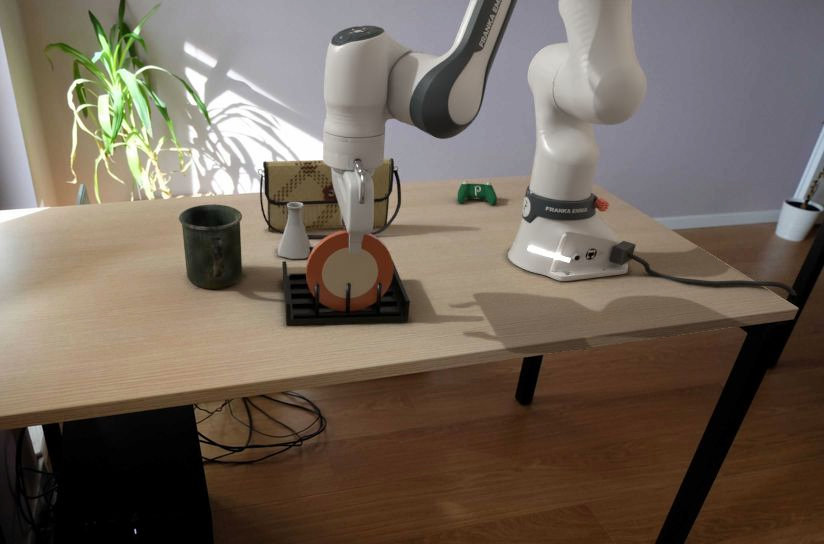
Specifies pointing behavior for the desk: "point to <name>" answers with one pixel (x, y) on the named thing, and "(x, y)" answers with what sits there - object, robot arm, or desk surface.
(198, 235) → the mug
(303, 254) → the flask
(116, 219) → the desk surface
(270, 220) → the clutch purse
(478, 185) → the gaming controller
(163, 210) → the desk surface
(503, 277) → the desk surface
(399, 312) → the rack
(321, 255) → the plate
